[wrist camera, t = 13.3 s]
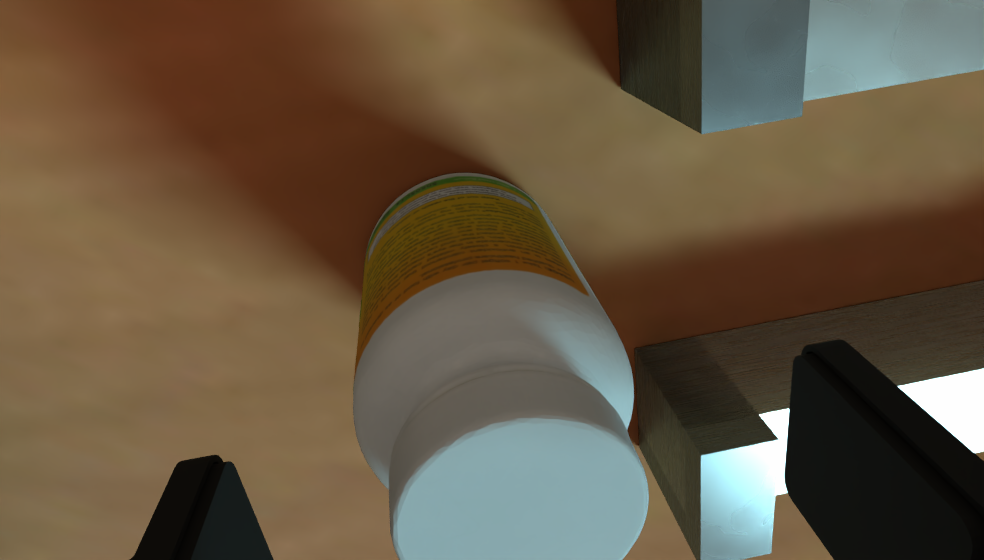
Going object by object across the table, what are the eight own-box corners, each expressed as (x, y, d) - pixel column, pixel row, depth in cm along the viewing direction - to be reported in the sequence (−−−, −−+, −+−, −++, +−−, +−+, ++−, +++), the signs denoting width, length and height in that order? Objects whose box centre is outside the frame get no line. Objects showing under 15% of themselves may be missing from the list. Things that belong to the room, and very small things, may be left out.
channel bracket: (1283, -192, 16) (1621, -250, 12) (1104, 352, 23) (1272, 444, 19) (611, -87, 15) (702, -107, 11) (639, 447, 22) (700, 568, 18)
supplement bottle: (323, 247, 18) (256, 517, 9) (483, 126, 17) (576, 298, 8) (444, 375, 20) (483, 687, 11) (590, 274, 19) (752, 528, 11)
